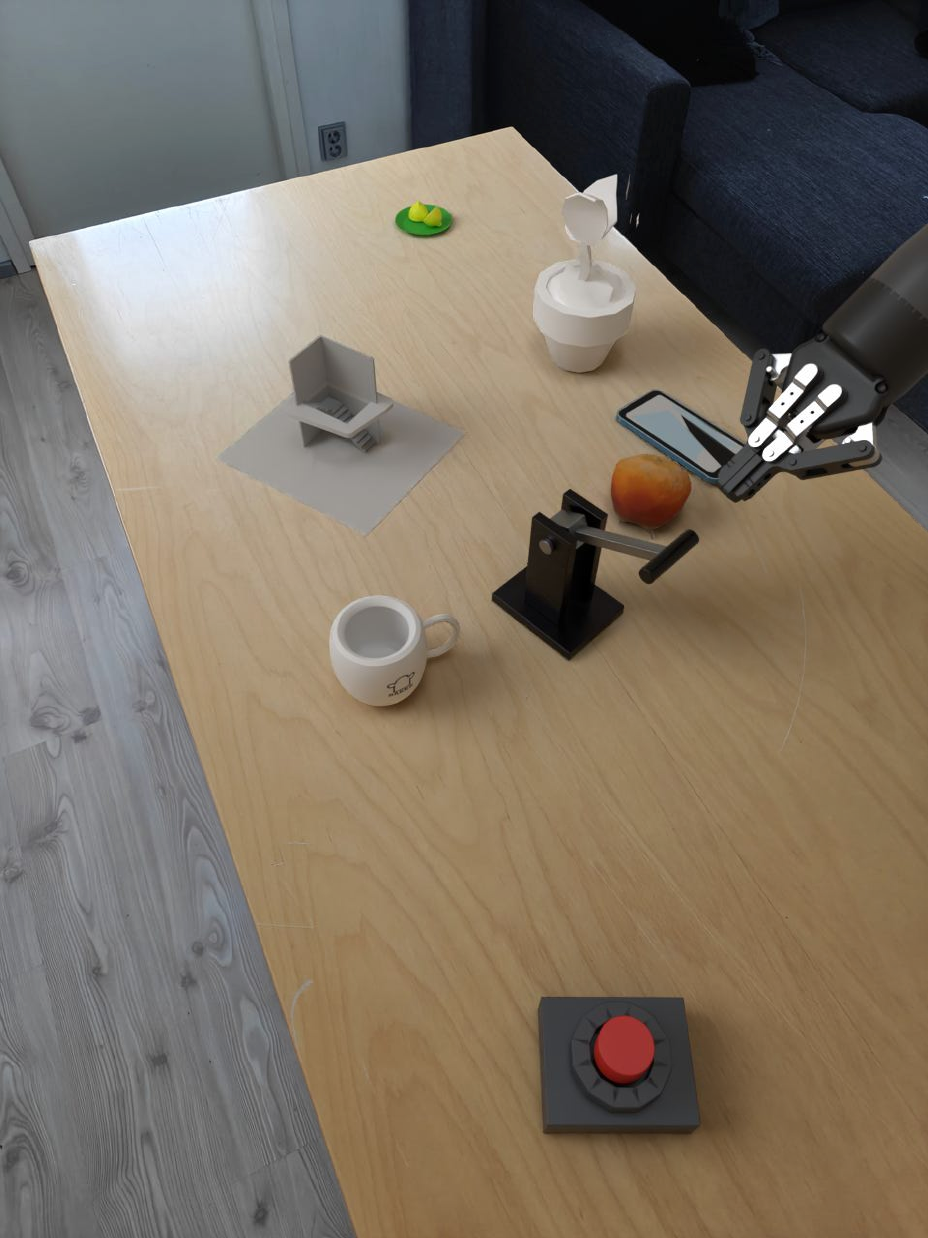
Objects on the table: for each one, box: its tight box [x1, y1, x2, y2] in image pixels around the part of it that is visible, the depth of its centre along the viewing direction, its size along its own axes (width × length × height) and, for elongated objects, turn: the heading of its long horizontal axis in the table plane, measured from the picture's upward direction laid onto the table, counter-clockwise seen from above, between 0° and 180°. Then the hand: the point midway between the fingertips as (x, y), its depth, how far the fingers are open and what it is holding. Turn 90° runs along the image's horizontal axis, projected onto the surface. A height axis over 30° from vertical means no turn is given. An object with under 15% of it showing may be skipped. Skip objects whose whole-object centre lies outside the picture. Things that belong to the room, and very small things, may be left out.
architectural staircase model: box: [214, 334, 467, 537], centre depth 99 cm, size 19×21×12 cm
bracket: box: [491, 488, 626, 661], centre depth 84 cm, size 10×8×13 cm
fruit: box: [610, 453, 692, 540], centre depth 95 cm, size 8×8×8 cm
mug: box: [328, 594, 461, 707], centre depth 82 cm, size 12×8×8 cm
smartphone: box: [615, 388, 746, 484], centre depth 104 cm, size 7×1×15 cm
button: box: [594, 1016, 655, 1084], centre depth 60 cm, size 4×4×3 cm
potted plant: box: [532, 173, 640, 374], centre depth 103 cm, size 13×12×25 cm
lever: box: [549, 509, 700, 585], centre depth 77 cm, size 13×6×2 cm, turn 45°
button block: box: [537, 996, 702, 1135], centre depth 63 cm, size 10×8×5 cm
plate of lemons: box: [394, 200, 453, 236], centre depth 130 cm, size 8×8×3 cm
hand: (725, 494), depth 70 cm, fingers closed
